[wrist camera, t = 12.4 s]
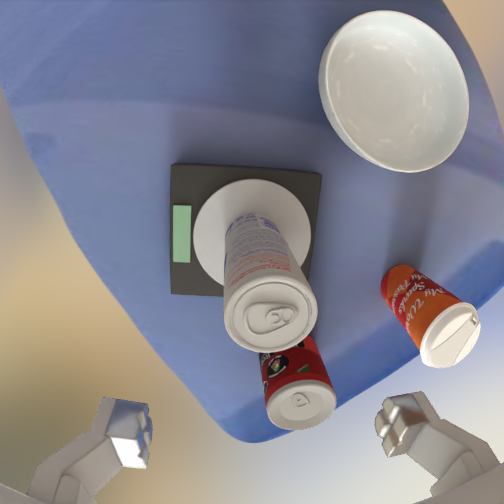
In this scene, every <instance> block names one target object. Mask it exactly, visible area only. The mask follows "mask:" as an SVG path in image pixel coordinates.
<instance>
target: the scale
mask: <svg viewBox="0 0 504 504" xmlns="http://www.w3.org/2000/svg"><path fill="white" fill-rule="evenodd" d="M321 178H322V175H321V174H319V173H316V172H309V171H300V170H289V169H278V168H265V167H251V166H236V165H216V164H190V163H175V164H172V165H171V183H170V277H171V294H179V295H197V296H218V297H224V259H225V235H226V231H227V229H228V227H229V226H230V224H231V223H232V222H233V221H234V220H235V219H237V218H238V217H240V216H242V215H245V214H249V213H259V214H263V215H265V216H268V217H269V218H271V219H272V220H273V221H274V222H275V223H276V224H277V226H278V228H279V229H280V231H281V233H282V235H283V237H284V239H285V240H286V242H287V244H288V246H289V248H290V250H291V252H292V253H293V255H294V257H295V259H296V261H297V263H298V265H299V267H300V268H301V270H302V272H303V274H304V276H305V278H306V280H307V282H308V275H309V269H310V262H311V255H312V249H313V241H314V234H315V227H316V219H317V211H318V203H319V195H320V187H321Z"/></svg>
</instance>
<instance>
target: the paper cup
mask: <svg viewBox="0 0 504 504" xmlns="http://www.w3.org/2000/svg"><path fill="white" fill-rule="evenodd" d="M381 293H382V296H383V298H384V299H385V301H386V302H387V304H388V305H389V307H390V308H391V309H392V311H393V312H394V314H395V315H396V317H397V318H398V319H399V321H400V322H401V324H402V325H403V327H404V328H405V329H406V331H407V332H408V334H409V335H410V337H411V338H412V340H413V341H414V343H415V344H416V346H417V347H418V348H419V350H420V355H421V358H422V362H423V363H424V364H425V365H427V366H431V367H434V368H447V367H450V366H453V365H455V364H456V363H458V362H459V361H461V360H462V359H463V358H464V357H465V356H466V355H467V354H468V353H469V352H470V351H471V349H472V348H473V346H474V345H475V343H476V341H477V339H478V336H479V333H480V327H481V326H480V320H479V319H478V316H477V312H476V309H475V308H474V306H472V305H471V304H469V303H465V302H462V301H461V300H460V299H458V298H457V297H456V296H454V295H453V294H452V293H450V292H449V291H447V290H445V289H444V288H442V287H441V286H439V285H438V284H436V283H435V282H433V281H432V280H431V279H429V278H428V277H426V276H425V275H423V274H422V273H420V272H418V271H417V270H415V269H414V268H412V267H410V266H408V265H398V266H395V267H393V268H392V269H390V270H389V271H388V272H387V274H386V275H385V276H384V278H383V280H382V283H381Z"/></svg>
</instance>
